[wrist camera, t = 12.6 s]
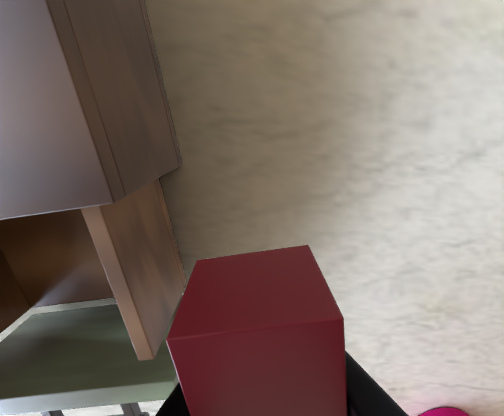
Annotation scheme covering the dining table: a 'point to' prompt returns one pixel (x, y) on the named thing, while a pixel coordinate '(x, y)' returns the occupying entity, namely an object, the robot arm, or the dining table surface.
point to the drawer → (94, 318)
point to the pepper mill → (444, 412)
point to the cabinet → (79, 105)
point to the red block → (260, 337)
